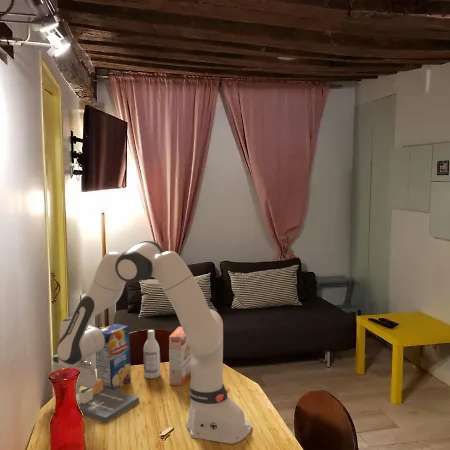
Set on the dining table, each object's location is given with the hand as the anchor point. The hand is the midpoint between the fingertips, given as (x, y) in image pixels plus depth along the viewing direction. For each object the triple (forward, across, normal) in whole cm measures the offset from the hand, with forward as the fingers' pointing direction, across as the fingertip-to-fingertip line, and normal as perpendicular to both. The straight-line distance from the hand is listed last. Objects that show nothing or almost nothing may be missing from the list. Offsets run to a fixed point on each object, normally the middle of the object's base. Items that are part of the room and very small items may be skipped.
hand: (75, 393), depth 185 cm
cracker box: (+4, -23, -38) cm, 44 cm away
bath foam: (+4, -10, -34) cm, 36 cm away
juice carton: (+4, -2, -20) cm, 20 cm away
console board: (+4, -10, -4) cm, 11 cm away
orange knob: (+1, -4, -8) cm, 9 cm away
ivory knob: (+2, -6, 0) cm, 6 cm away
